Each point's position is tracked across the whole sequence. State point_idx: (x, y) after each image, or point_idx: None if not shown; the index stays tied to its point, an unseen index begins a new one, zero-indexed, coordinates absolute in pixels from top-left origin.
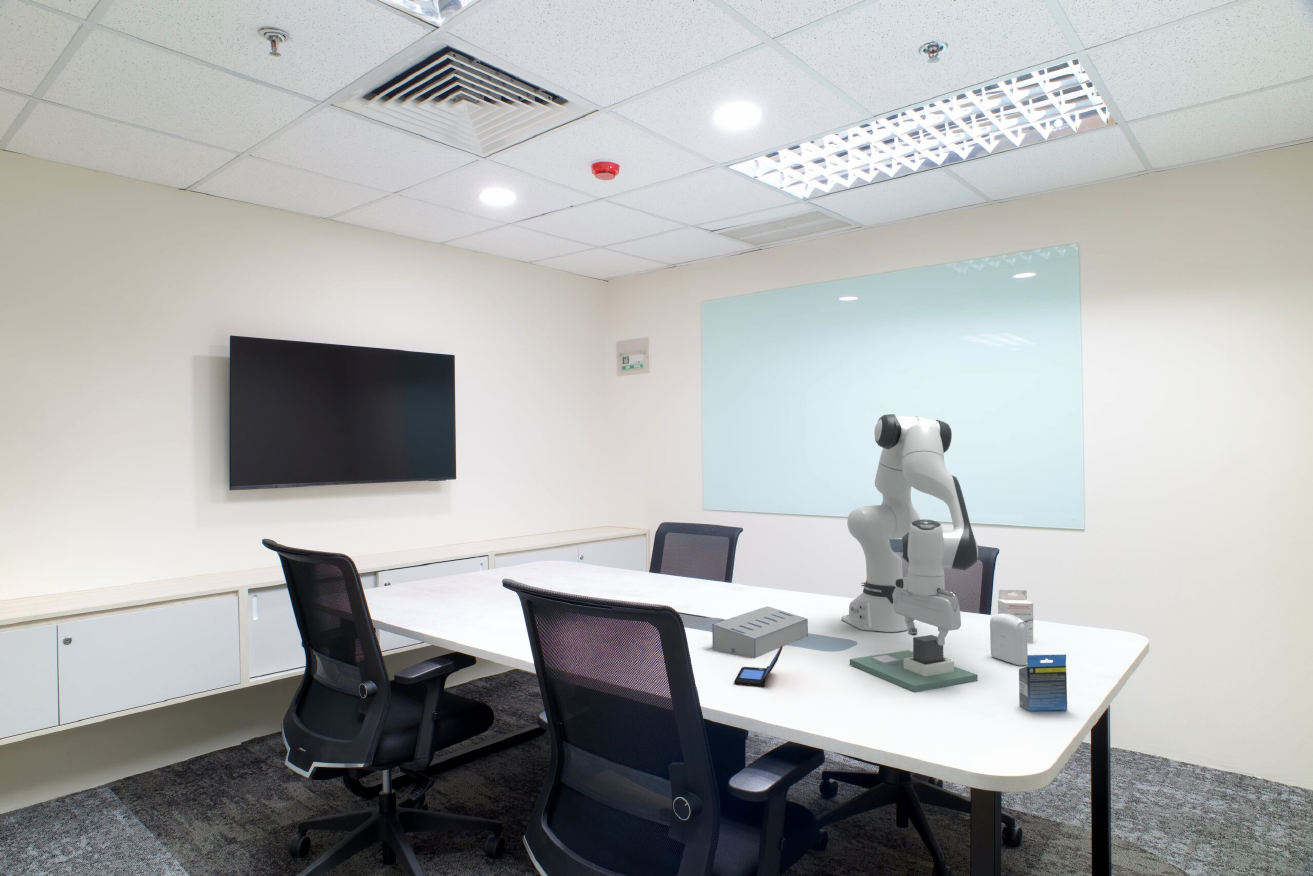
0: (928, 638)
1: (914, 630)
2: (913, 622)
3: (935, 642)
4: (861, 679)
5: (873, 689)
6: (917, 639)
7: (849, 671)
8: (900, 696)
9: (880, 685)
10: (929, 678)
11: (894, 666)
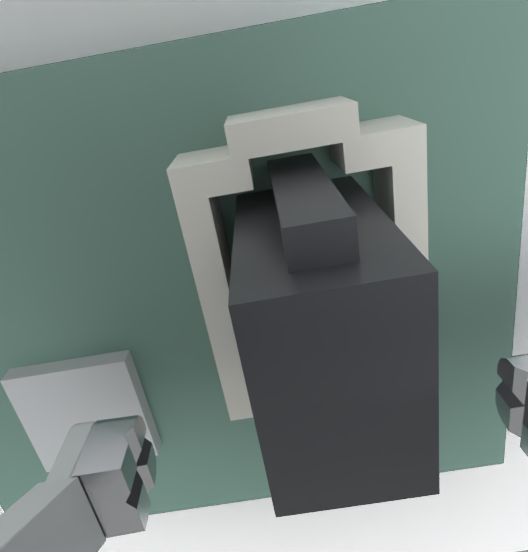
0: (362, 415)
1: (133, 482)
2: (15, 539)
3: (514, 424)
4: (253, 539)
5: (383, 548)
6: (337, 504)
7: (133, 538)
8: (499, 503)
9: (350, 511)
10: (449, 348)
11: (188, 406)
